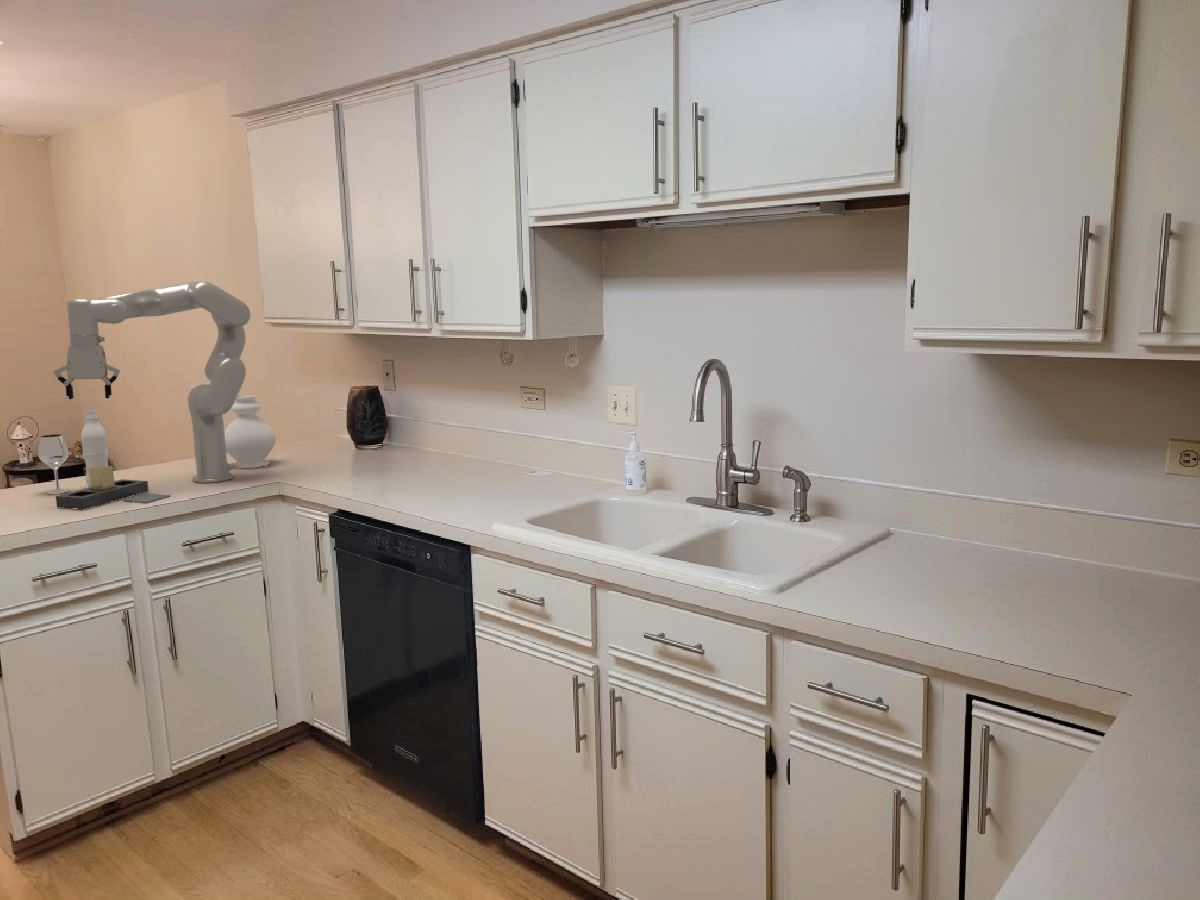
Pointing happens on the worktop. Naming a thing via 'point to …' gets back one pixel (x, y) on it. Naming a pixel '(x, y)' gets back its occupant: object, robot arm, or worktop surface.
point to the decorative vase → (248, 434)
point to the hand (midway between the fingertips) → (89, 398)
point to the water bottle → (94, 444)
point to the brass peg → (102, 478)
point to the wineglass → (53, 455)
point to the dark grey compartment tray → (101, 494)
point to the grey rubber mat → (146, 497)
